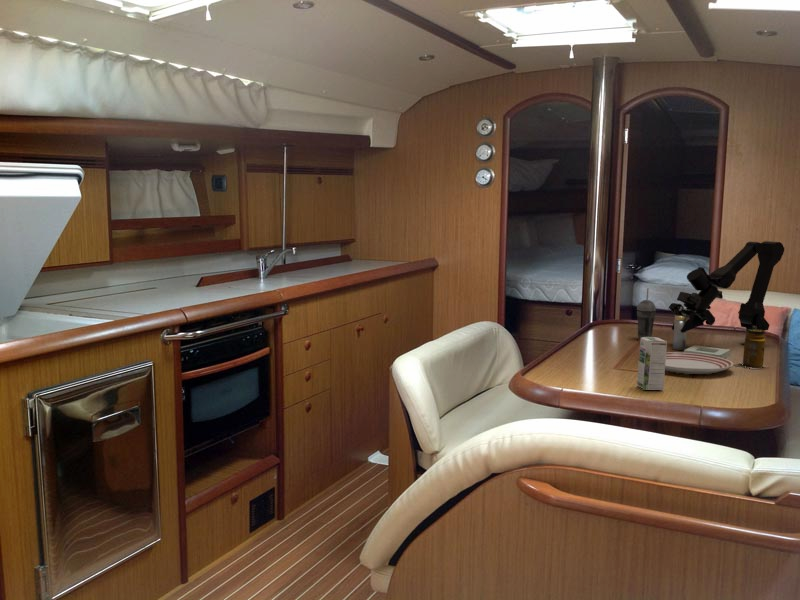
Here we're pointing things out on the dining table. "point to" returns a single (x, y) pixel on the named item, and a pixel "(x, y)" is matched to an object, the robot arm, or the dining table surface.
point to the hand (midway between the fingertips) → (677, 330)
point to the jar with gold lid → (679, 332)
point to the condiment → (753, 349)
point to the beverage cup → (645, 317)
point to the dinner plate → (695, 363)
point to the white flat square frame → (708, 351)
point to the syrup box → (651, 363)
